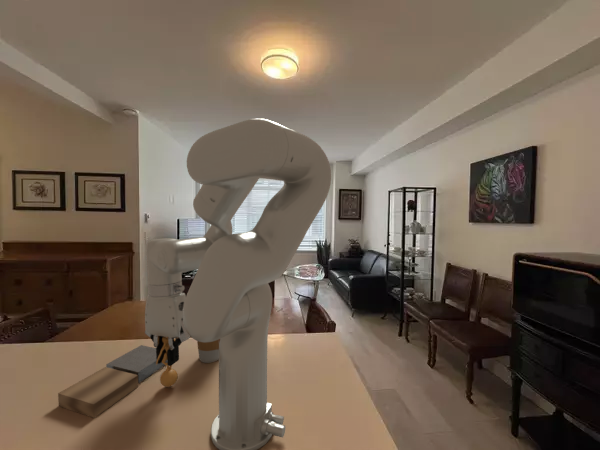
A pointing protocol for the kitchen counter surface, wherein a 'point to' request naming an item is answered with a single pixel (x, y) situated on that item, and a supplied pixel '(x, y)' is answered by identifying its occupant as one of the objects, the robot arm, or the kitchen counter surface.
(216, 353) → the coffee cup
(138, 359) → the grey metal stand
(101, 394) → the walnut stand
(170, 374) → the figurine
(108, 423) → the kitchen counter surface
